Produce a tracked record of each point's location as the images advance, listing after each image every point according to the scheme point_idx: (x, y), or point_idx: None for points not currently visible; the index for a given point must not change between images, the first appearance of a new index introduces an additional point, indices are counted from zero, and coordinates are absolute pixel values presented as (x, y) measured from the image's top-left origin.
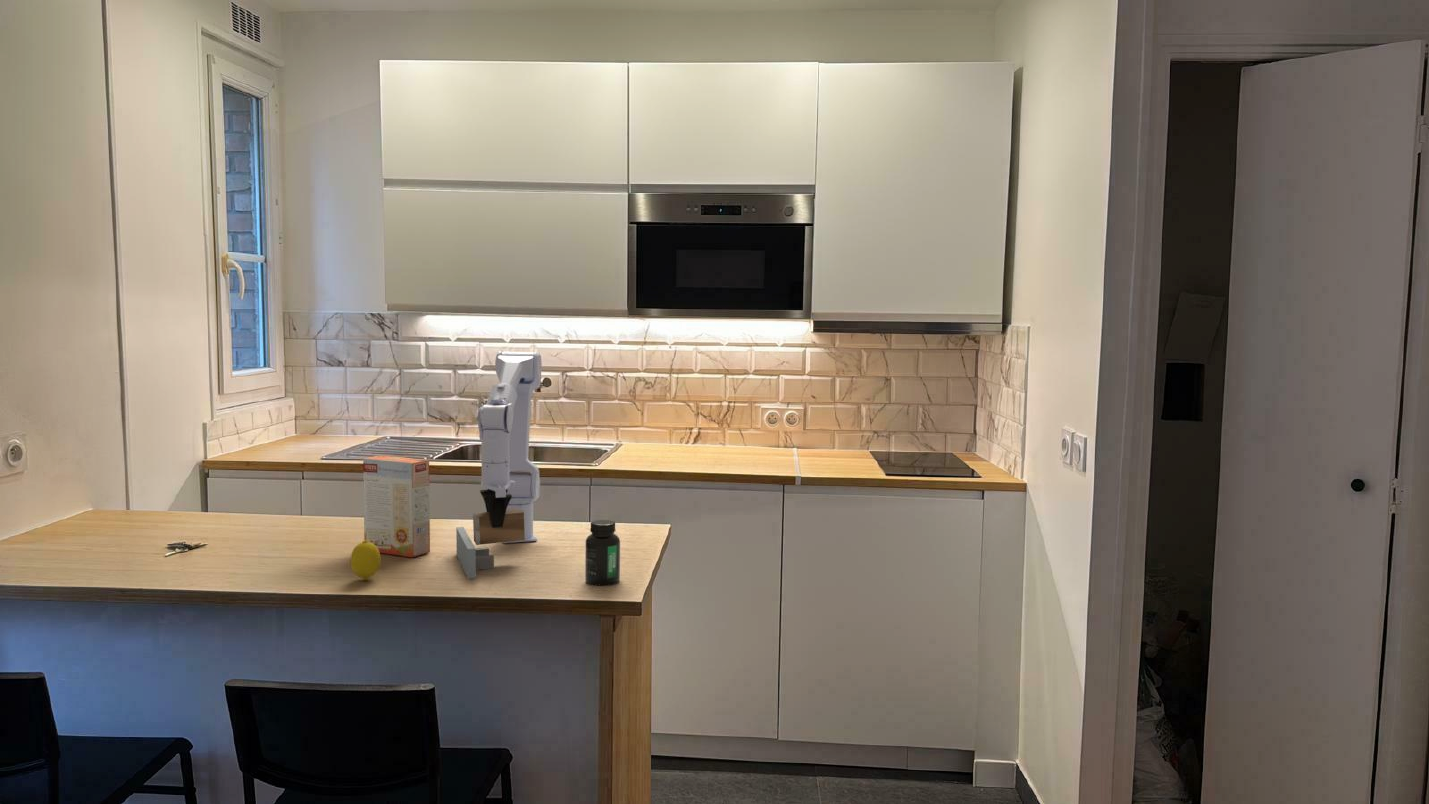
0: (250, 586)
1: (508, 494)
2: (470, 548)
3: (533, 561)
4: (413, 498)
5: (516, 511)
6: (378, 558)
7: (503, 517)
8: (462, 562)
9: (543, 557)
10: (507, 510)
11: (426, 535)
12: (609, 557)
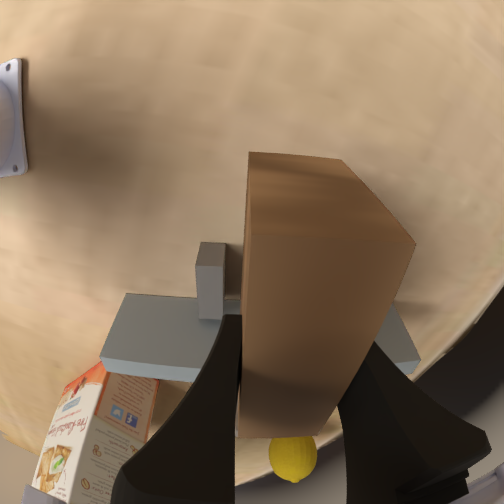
0: (257, 468)
1: (435, 478)
2: (411, 369)
3: (301, 98)
4: None
5: (340, 290)
6: (309, 449)
7: (382, 354)
8: None
9: (253, 46)
10: (252, 338)
11: (113, 392)
12: None
